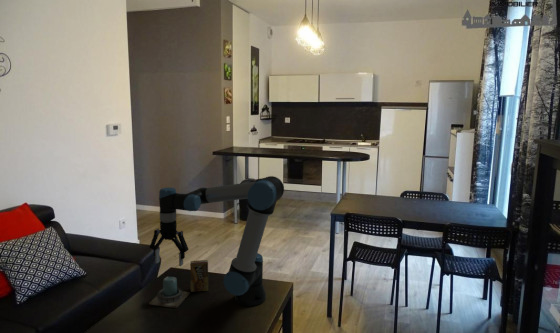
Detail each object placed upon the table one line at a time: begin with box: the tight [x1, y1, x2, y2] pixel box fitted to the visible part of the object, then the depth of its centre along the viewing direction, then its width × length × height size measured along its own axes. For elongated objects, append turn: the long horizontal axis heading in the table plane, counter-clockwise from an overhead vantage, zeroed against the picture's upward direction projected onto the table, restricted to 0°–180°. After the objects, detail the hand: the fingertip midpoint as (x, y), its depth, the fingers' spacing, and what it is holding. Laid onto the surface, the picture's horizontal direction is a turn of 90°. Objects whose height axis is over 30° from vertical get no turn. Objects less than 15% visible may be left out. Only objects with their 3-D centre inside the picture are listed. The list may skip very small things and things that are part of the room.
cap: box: [162, 276, 178, 297], centre depth 183 cm, size 6×6×10 cm
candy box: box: [190, 259, 209, 293], centre depth 193 cm, size 9×4×15 cm, turn 103°
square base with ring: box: [148, 286, 191, 309], centre depth 184 cm, size 14×14×4 cm
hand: (169, 263), depth 182 cm, fingers open, 12 cm apart
